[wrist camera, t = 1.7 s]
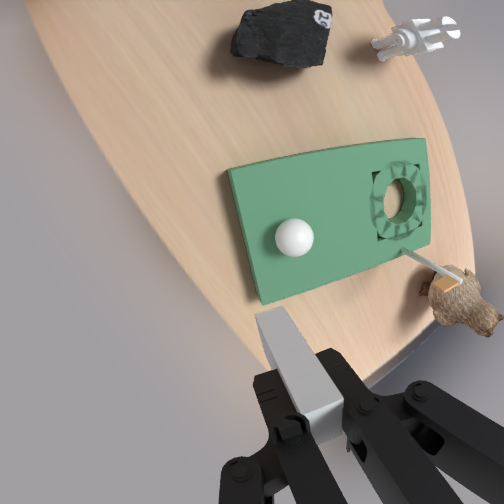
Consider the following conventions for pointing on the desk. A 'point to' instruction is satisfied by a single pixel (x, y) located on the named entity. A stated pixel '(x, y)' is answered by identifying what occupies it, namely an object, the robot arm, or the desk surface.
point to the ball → (294, 237)
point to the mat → (334, 213)
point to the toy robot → (415, 38)
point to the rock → (284, 33)
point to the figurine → (462, 303)
